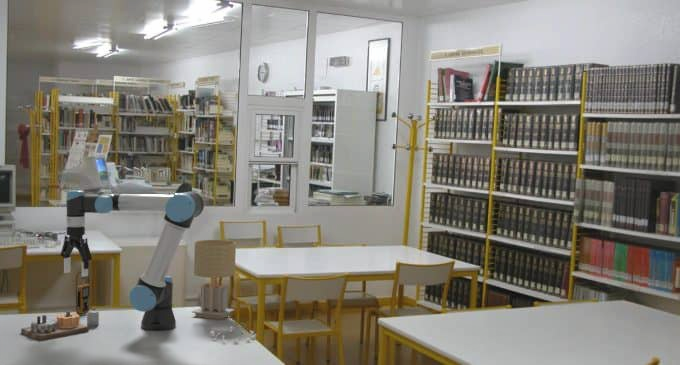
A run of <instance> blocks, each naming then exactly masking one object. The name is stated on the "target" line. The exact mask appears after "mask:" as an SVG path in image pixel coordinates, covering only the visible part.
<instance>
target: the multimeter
mask: <svg viewBox="0 0 680 365" xmlns="http://www.w3.org/2000/svg"><path fill="white" fill-rule="evenodd" d="M80 273H81V274H82V271H80V272H78V273H77V275H76V279H75V300H76V301H75V305H76V306H75V308H76V314H78V315H79V317H81V316H87V312H88V311H90V310H92V308H91V307H90V305H91V304H90V303H91V302H90V296H91V284H90V283H89V282H90V281H89V278H90V274H89V272H88V276H87V277H88V279H87V283H85V278H82V281H81V282H82V283H81V285H77V284H78V275H79V274H80ZM93 311H96V308H95V309H94V308H93ZM84 313H86V314H84Z"/></svg>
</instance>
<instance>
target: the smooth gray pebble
mask: <svg viewBox="0 0 680 365" xmlns="http://www.w3.org/2000/svg"><path fill="white" fill-rule="evenodd" d="M86 314H87V315H86V316H87V317H86V326H88V327H98V326H99V325H100V324H99V322H100V319H99V318H100V311H98V310H95V311H94V310H89V311H86Z"/></svg>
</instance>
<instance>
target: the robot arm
mask: <svg viewBox="0 0 680 365" xmlns="http://www.w3.org/2000/svg"><path fill="white" fill-rule="evenodd" d="M65 203H66V235H65V236H64V240H63V245H62V249H61V252H60V256H61V257H62V258H63V274H68V273H71V268H72V267H71V266H72V265H71V264H72V263H71V258H72V257H71V254H72V252H73V250H74V248H75V249H76V250H78V252H79V255H80V257H81V259H82V260H81V278H85V277H88V273H89V262H90V261H92V260H93V259H92V258H93V257H92V255H91V254H92V253H91V250H90V248H89V247H90V246H89V243H88V238H87V237H83V236H84V235H85V234H86V228H85V225H86V215H85V214H87V213H89V214H90V213H92V214H109V213H110V212H112V211H115V212H119V211H120V212H121V211H122V212H155V213H159V212H160V213H165V215H164V216H163V220H164V222H165V224H164V227H163V229H162V232H161V234H160V236H159V239H158V240H157V243H156V246H155V249H154V251H153V253H152V256H151V258H150V261H149V263H148V266H147V268H146V271H145V272H144V273H143V274H140V276H139V278H138V281H137V283H136V285H135V286H133V287H132V289H131V290H130V292H129V295H128V299H129V300H128V301H129V302H130V305H131V306H132V308H133V309H135V310H137V311H138V312H142V313H143V315H142V320H141V321H140V323H141V324H140V328H142V329H144V330H150V331H164V330H170V329H174V328H175V327H176V325H177V322H176V319H175V318H176V317H175V314H174V311H173V289H174V287H173V286H174V283H173V282H174V280H173V277H172V276H170V275H168V272H169V270H170V267H171V265H172V262H173V261H174V257H175V256H176V253H177V250H178V248H179V246H180V243H181V241H182V238H183V237H184V234H185V232H186V230H190V228H191V225H192V223H193V221H194V219H195V218H197V217H199V216H200V215H201V214H202V213H203V211H204V208H205V201H204V199H203V197H202V196H201V195H200V194H199V193H198V192H195V191H185V192H176V193H175V194H142V193H141V194H139V193H138V194H133V193H131V194H129V193H114V192H113V193H108V194H107V193H106V194H98V195H86V193H85V191H84V190H80V189H79V190H77V189H76V190H68V191H67V192H66V200H65Z"/></svg>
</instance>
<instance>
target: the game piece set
mask: <svg viewBox="0 0 680 365" xmlns="http://www.w3.org/2000/svg"><path fill="white" fill-rule="evenodd" d="M233 329H234V328H233V326H231V325H230V327H229V333H232V332H233ZM209 333H210V334H211V337H212V339H211V341H213V342H215V341H217V339H216V338H217V337H218V336H219V335H221V334H222V331H219V332H218V333H217V334H215V333H216V332H215V330H210V331H209ZM249 333H250V334H249V337H247V338H246V343H251V339H253V340H255V338H257V335H258V334H257V333H254V330H249ZM241 334H246V333H245V330H244V329H242V331H241ZM239 338H240V336H238V337H237V338H236V339H234V338H233V339H232V343H233V344H238V343H239V342H240V339H239ZM238 339H239V340H238ZM226 343H227V341H226V340H225V335H224V334H223V335H222V340H221V341H220V344H226Z"/></svg>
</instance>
